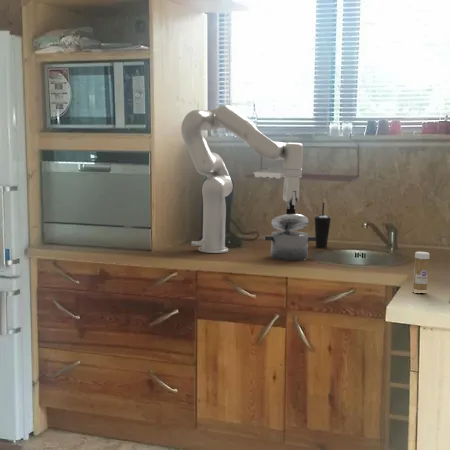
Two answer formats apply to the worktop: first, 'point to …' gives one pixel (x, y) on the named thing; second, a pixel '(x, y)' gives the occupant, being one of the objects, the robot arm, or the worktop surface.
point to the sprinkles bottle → (421, 270)
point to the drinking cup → (322, 229)
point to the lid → (289, 222)
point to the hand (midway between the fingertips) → (290, 218)
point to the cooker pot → (289, 245)
